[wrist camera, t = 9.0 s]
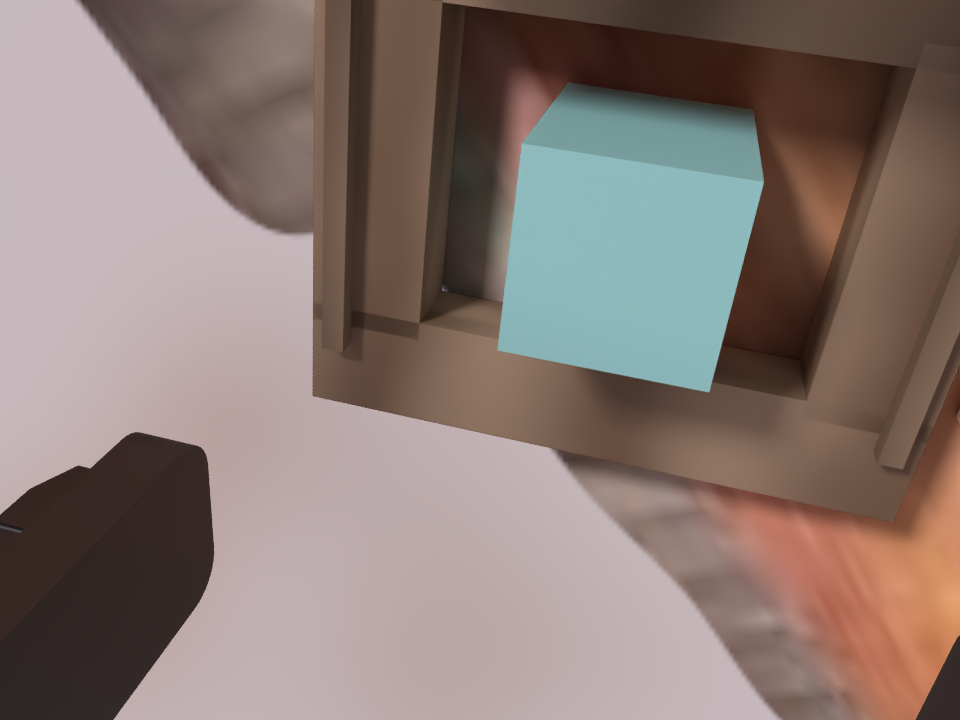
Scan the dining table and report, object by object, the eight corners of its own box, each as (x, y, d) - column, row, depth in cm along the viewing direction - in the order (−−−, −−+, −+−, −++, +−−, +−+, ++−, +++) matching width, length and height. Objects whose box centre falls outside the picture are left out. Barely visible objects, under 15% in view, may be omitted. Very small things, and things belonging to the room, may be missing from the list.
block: (545, 250, 24) (497, 350, 19) (568, 82, 22) (521, 143, 17) (711, 280, 23) (708, 392, 18) (753, 109, 21) (764, 182, 16)
